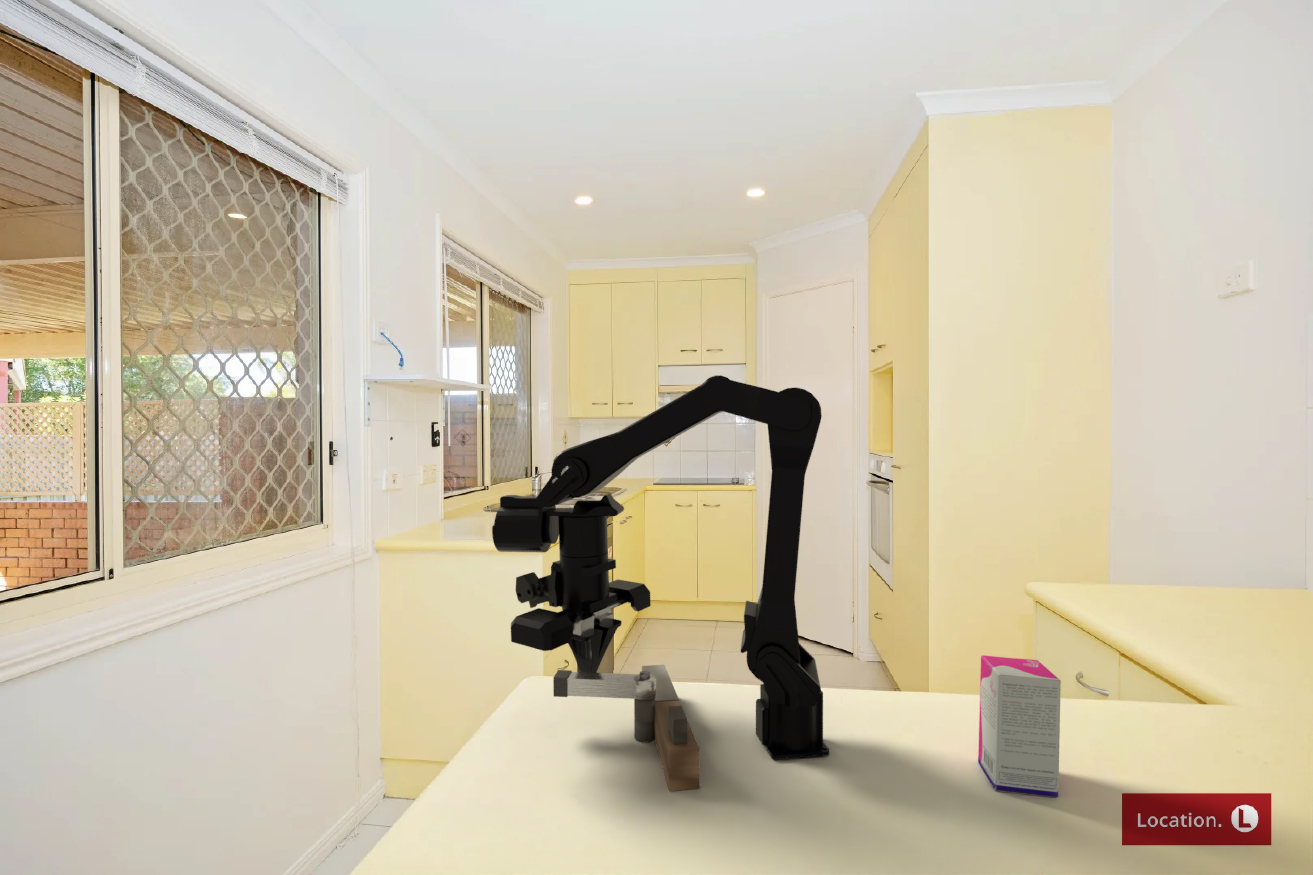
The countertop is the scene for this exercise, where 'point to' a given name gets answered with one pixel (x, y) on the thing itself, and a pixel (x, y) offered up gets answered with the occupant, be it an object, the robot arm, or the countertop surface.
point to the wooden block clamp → (668, 732)
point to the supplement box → (1019, 726)
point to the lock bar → (605, 685)
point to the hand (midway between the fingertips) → (588, 682)
